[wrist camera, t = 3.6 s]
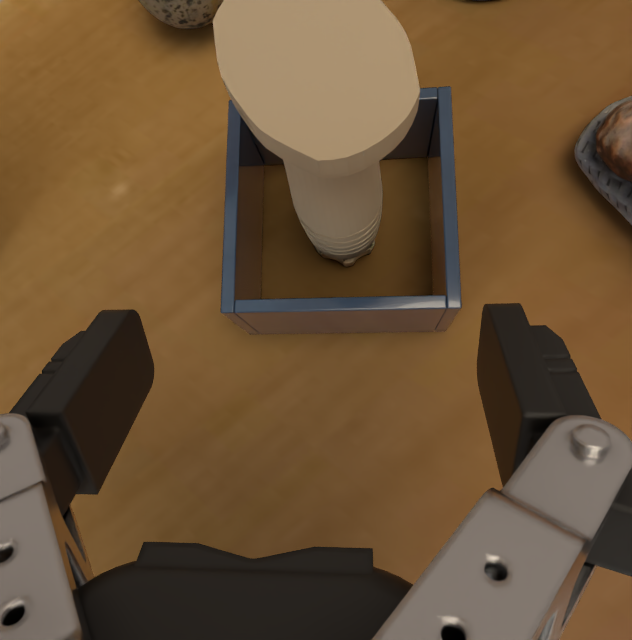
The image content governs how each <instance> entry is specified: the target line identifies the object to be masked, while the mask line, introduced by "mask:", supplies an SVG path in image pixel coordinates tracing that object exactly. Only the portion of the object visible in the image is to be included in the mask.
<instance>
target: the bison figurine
mask: <svg viewBox="0 0 632 640" xmlns="http://www.w3.org/2000/svg"><path fill="white" fill-rule="evenodd" d="M575 160H576V161H577V163H578V165H579V167H580V168H581V170H582V171H583V172H584V173H585V175H586V176H587V177H588V179H589V180H590V182H591V183H592V184H593V186H594V187H595V188H596V189H597V190H598V192H599V193H600V194H601V195H602V196H603V197H604V198H605V199H606V200H607V201H608V202H609V203H611V204H612V205H613V206H614V207H615V208H616V209H617V210H618V211H619V212H620V213H621V214H622V215H623V216H624V217H625V218H626V220H627V221H628V222H629V223H630V224H631V225H632V96H630V97H627V98H625V99H622V100H619V101H617V102H614V103H612V104H610V105H609V106H607V107H606V108H605V109H604V110H602V111H601V112H600V113H599V114H598V115H597V116H596V117H595V118H594V119H593V120H592V121H591V122H590V123H589V124H588V125H587V126H586V128H585V129H584V130H583V132H582V134H581V135H580V137H579V139H578V141H577V143H576V146H575Z"/></svg>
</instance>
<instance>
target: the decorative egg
mask: <svg viewBox="0 0 632 640" xmlns="http://www.w3.org/2000/svg"><path fill="white" fill-rule="evenodd" d="M223 1H224V0H139V2H140V3H141V4H142V5H143V6H144V7H145V8H146V9H147V10H148V11H149V12H150V13H151V14H152V15H153V16H155V17H156V18H157V19H159V20H160V21H162V22H164V23H166V24H168V25H170V26H173V27H176V28H181V29H197V28H201V27H204V26H206V25H208V24H210V23H212V22H213V19H214V17H215V15H216V12H217V10H218V9H219V7H220V6H221V4H222V2H223Z"/></svg>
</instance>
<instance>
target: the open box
mask: <svg viewBox="0 0 632 640" xmlns="http://www.w3.org/2000/svg"><path fill="white" fill-rule="evenodd" d="M427 156H428V178H429V204H430V230H431V257H432V283H433V295H420V296H376V297H331V298H286V299H261V278H262V237H263V195H264V164H265V165H278V164H284V161H283V159H282V158H280V157H279V156H277V155H276V154H274V153H273V152H271V151H270V150H268V149H267V148H266V147H265V146H264V145H263V144H262V143H261V142H260V141H259V140H258V139H257V137H256V136H255V135H254V134H253V133H252V131H251V130H250V128H249V127H248V126H247V124H246V123H245V121H244V120H243V118H242V117H241V115H240V114H239V112H238V111H237V109H236V107H235V106H234V104H233V102H232V100H229V109H228V134H227V160H226V186H225V212H224V238H223V264H222V290H221V313H222V314H223V315H224V316H226V317H227V318H228V319H230V320H231V321H233V322H234V323H235V324H237V325H238V326H239V327H241V328H242V329H243V330H245V331H246V332H247V333H249V334H311V333H376V332H433V331H436V332H442V331H446V330H447V329H448V327H449V326H450V324H451V323H452V321H453V320H454V318H455V317H456V315H457V314H458V312H459V311H460V309H461V307H462V303H461V283H460V262H459V241H458V221H457V200H456V180H455V159H454V138H453V118H452V97H451V87H450V86H448V87H438V89H437V87H432V88H420V97H419V104H418V110H417V113H416V116H415V118H414V121H413V123H412V126H411V127H410V129H409V131H408V132H407V134H406V136H405V138H404V139H403V140H402V141H401V142H400V143H399V144H398V145H397V146H396V147H395V149H394V150H392V151H391V152H390V153H389V154H387V155H386V156H385V157H384V158H382V159H400V158H420V157H427Z"/></svg>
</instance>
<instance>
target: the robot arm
mask: <svg viewBox="0 0 632 640" xmlns="http://www.w3.org/2000/svg"><path fill="white" fill-rule="evenodd" d="M153 379H154V363H153V359H152V356H151V352H150V349H149V346H148V342H147V339H146V336H145V332H144V329H143V326H142V322H141V319H140V316H139V314H138V313H137V312H136V311H135V310H102V311H101V312H100V313H99V314H98V315H97V316H96V318H95V319H94V320H93V322H92V323H91V324H90V326H89V327H88V328H87V330H86V331H80V332H79V333H78V334H76V335H75V336H73V337H72V338H70V339H69V340H68V341H66V342H65V343H63V344H62V346H61V347H60V348H59V349H58V351H57V352H56V353H55V355H54V356H53V357H52V358H51V362H48V364H47V365H46V366H45V367H44V369H43V370H42V374H39V375H38V376H37V378H36V379H35V380H34V382H33V383H32V384H31V385H30V387H29V388H28V389H27V390H26V392H25V393H24V394H23V396H22V397H21V398H20V399H19V401H18V402H17V403H16V405H15V406H14V407H13V408H12V410H11V411H10V412H9V413H7V414H0V640H559V639H560V637H561V635H562V633H563V631H564V629H565V627H566V625H567V624H568V622H569V620H570V618H571V616H572V614H573V612H574V610H575V608H576V606H577V604H578V602H579V600H580V598H581V596H582V594H583V592H584V591H585V589H586V587H587V585H588V583H589V581H590V579H591V577H592V575H593V573H594V571H595V569H596V567H597V566H600V567H603V568H606V569H609V570H613V571H616V572H619V573H622V574H625V575H629V576H632V442H631V440H630V439H629V438H628V437H627V436H626V435H625V433H624V432H622V431H621V430H620V429H618V428H617V427H615V426H614V425H612V424H610V423H608V422H606V421H604V420H601V418H600V415H599V413H598V411H597V409H596V407H595V405H594V403H593V401H592V399H591V397H590V395H589V393H588V391H587V389H586V387H585V385H584V383H583V381H582V378H581V376H580V374H579V372H577V368H576V366H575V364H574V362H573V360H572V359H570V354H569V352H568V350H567V348H566V346H565V344H564V341H563V339H561V338H560V337H559V336H558V335H557V334H555V333H554V332H553V331H552V330H551V329H549V328H548V327H547V326H546V325H540V326H530V325H529V322H528V320H527V317H526V315H525V313H524V310H523V308H522V306H521V304H519V303H511V304H485V305H484V307H483V311H482V320H481V329H480V338H479V348H478V357H477V379H478V386H479V391H480V395H481V399H482V403H483V407H484V411H485V415H486V420H487V424H488V428H489V432H490V436H491V440H492V444H493V448H494V452H495V457H496V461H497V465H498V469H499V473H500V477H501V481H502V485H503V489H502V490H501V491H498V490H496V489H494V488H490V489H489V490H487V491H486V492H485V493H484V494H483V495H482V497H481V498H480V499H479V500H478V502H477V503H476V504H475V506H474V507H473V508H472V510H471V511H470V512H469V513H468V515H467V516H466V517H465V519H464V520H463V521H462V523H461V524H460V525H459V526H458V528H457V529H456V530H455V532H454V533H453V534H452V536H451V537H450V538H449V540H448V541H447V542H446V543H445V545H444V546H443V547H442V549H441V550H440V551H439V553H438V554H437V555H436V556H435V558H434V559H433V560H432V562H431V563H430V564H429V566H428V567H427V568H426V569H425V571H424V572H423V573H422V575H421V576H420V577H419V579H418V580H417V581H416V583H415V584H414V585H413V584H411V583H409V582H408V581H406V580H404V579H402V578H401V577H399V576H396V575H394V574H392V573H389V572H387V571H385V570H381V569H378V568H375V567H373V548H339V547H311V548H306V549H301V550H296V551H292V552H287V553H282V554H277V555H272V556H267V557H263V558H257V559H250V558H246V557H243V556H239V555H236V554H232V553H229V552H226V551H222V550H219V549H216V548H212V547H209V546H205V545H202V544H199V543H170V542H144V543H143V545H142V548H141V550H140V553H139V556H138V558H137V561H133V562H130V563H127V564H124V565H120V566H118V567H115V568H113V569H111V570H108V571H106V572H104V573H102V574H100V575H98V576H97V577H94V574H93V571H92V568H91V565H90V562H89V558H88V555H87V552H86V549H85V546H84V543H83V540H82V537H81V533H80V530H79V527H78V524H77V521H76V518H75V515H74V512H73V510H72V508H71V506H70V503H71V502H72V500H73V498H74V496H75V494H98V493H99V491H100V489H101V487H102V485H103V483H104V481H105V479H106V477H107V475H108V473H109V471H110V469H111V467H112V465H113V463H114V461H115V459H116V457H117V455H118V453H119V451H120V449H121V447H122V445H123V443H124V441H125V439H126V437H127V435H128V433H129V431H130V429H131V427H132V425H133V423H134V421H135V419H136V417H137V415H138V413H139V411H140V409H141V407H142V405H143V403H144V401H145V399H146V397H147V395H148V393H149V391H150V389H151V387H152V384H153Z"/></svg>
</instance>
